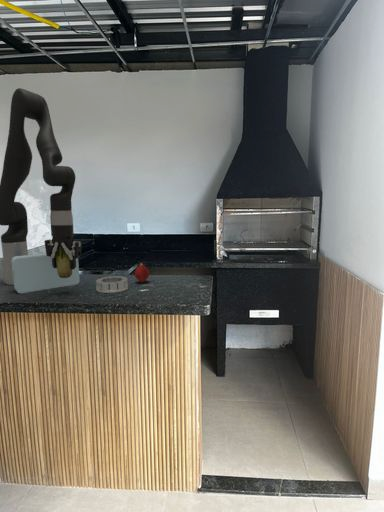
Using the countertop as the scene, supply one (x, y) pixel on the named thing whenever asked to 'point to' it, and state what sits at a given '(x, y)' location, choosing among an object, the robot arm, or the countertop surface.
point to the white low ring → (112, 284)
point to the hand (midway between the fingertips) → (64, 268)
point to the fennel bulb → (63, 264)
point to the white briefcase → (39, 273)
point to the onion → (141, 273)
